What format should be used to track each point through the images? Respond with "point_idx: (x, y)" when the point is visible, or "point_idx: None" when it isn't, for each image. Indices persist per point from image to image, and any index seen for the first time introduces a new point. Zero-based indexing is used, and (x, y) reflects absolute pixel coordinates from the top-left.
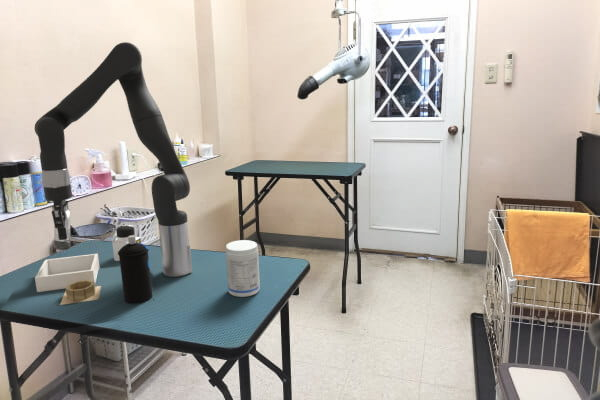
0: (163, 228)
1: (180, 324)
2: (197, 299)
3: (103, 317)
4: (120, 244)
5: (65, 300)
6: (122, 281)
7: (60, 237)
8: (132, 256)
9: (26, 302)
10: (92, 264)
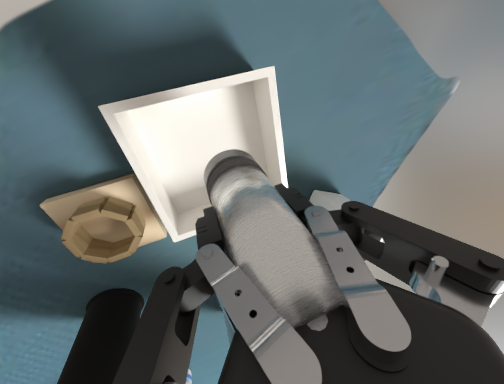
0: None
1: (47, 376)
2: None
3: (35, 288)
4: None
5: (69, 205)
6: (77, 347)
7: (196, 225)
8: None
9: (69, 83)
10: None
